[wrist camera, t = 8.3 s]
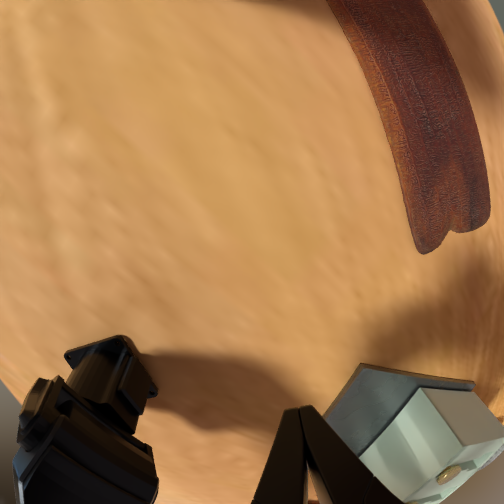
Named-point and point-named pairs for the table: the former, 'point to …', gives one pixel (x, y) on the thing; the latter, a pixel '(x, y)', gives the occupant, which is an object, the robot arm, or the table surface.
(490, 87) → the table surface
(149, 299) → the table surface
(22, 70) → the table surface
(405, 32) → the wooden tablet
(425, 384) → the base plate
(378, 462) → the two-slot toaster
